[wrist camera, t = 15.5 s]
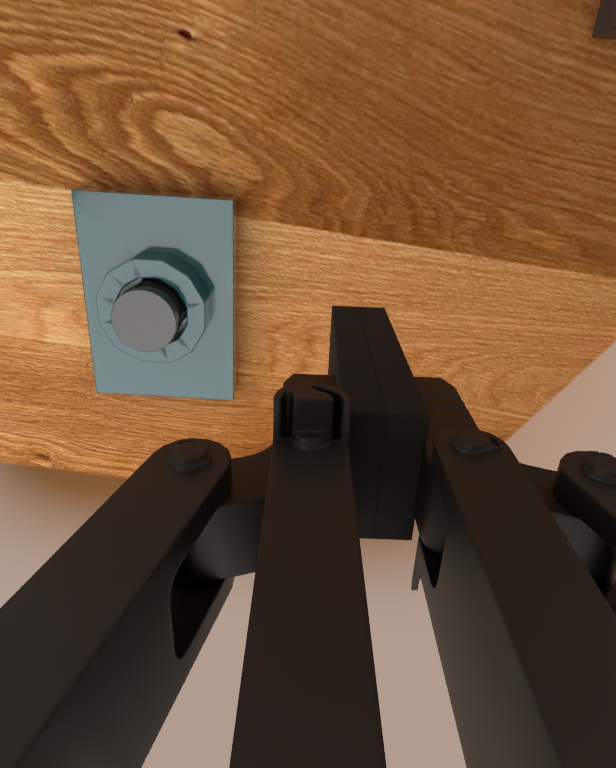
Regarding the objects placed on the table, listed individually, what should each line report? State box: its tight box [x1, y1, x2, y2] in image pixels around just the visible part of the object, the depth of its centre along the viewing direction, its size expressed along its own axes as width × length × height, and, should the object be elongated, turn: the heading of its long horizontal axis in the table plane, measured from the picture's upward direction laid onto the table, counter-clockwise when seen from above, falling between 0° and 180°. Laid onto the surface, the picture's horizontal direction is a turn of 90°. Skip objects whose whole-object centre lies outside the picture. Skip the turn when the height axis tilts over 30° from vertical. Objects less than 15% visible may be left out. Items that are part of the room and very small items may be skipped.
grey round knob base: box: [71, 187, 237, 400], centre depth 35 cm, size 14×10×4 cm
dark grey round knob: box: [111, 281, 184, 352], centre depth 33 cm, size 4×4×2 cm
